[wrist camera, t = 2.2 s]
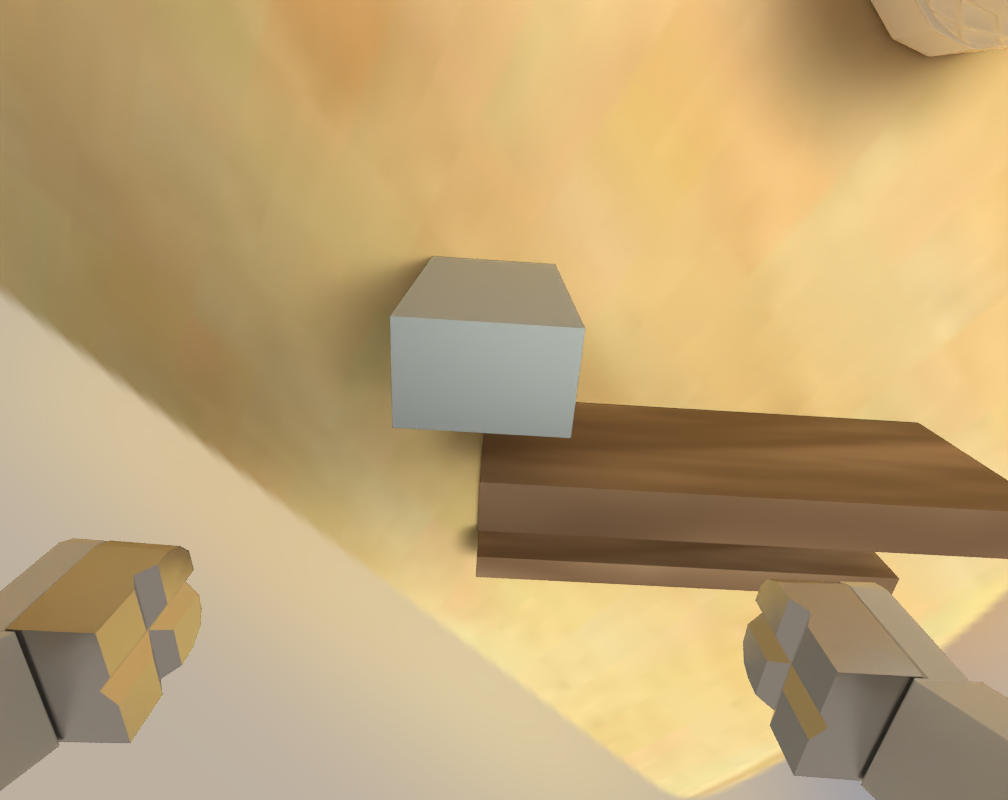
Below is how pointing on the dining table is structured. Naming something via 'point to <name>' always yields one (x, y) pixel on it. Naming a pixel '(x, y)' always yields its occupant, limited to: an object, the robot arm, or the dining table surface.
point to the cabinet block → (486, 349)
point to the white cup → (946, 24)
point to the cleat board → (729, 499)
